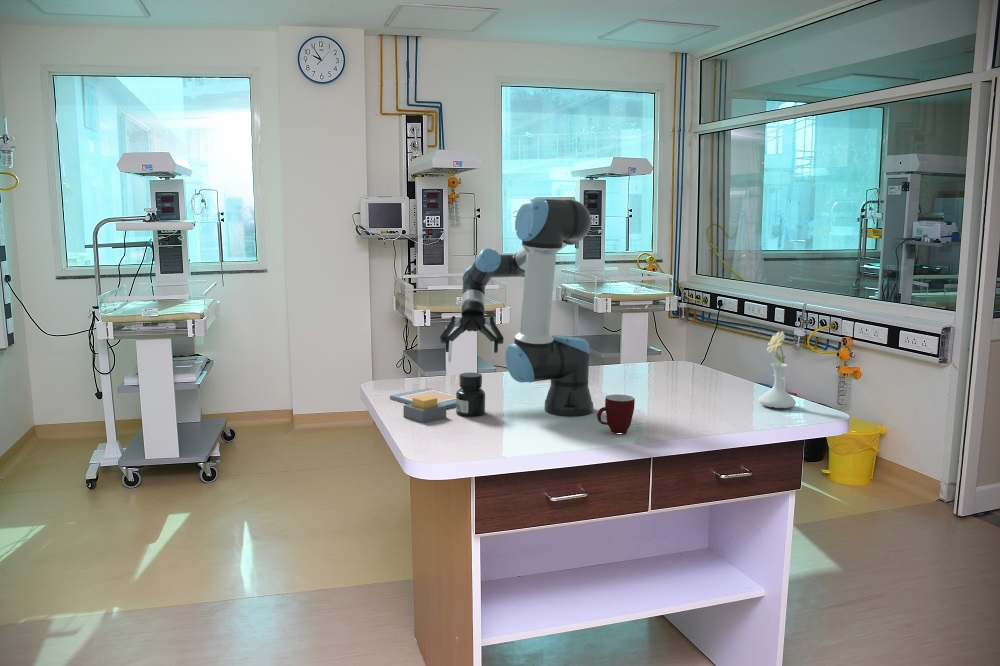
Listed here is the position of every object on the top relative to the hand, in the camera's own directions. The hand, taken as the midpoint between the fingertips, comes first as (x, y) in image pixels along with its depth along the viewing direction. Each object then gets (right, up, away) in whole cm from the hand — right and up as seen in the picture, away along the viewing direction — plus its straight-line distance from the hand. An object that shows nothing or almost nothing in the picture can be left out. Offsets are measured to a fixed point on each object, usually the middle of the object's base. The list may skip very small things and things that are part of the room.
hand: (471, 360), depth 241 cm
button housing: (-13, -17, -13) cm, 25 cm away
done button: (-13, -15, -13) cm, 24 cm away
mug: (+41, -20, -27) cm, 53 cm away
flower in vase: (+98, -15, +4) cm, 99 cm away
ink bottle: (0, -16, -8) cm, 18 cm away
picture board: (-13, -13, +7) cm, 20 cm away
